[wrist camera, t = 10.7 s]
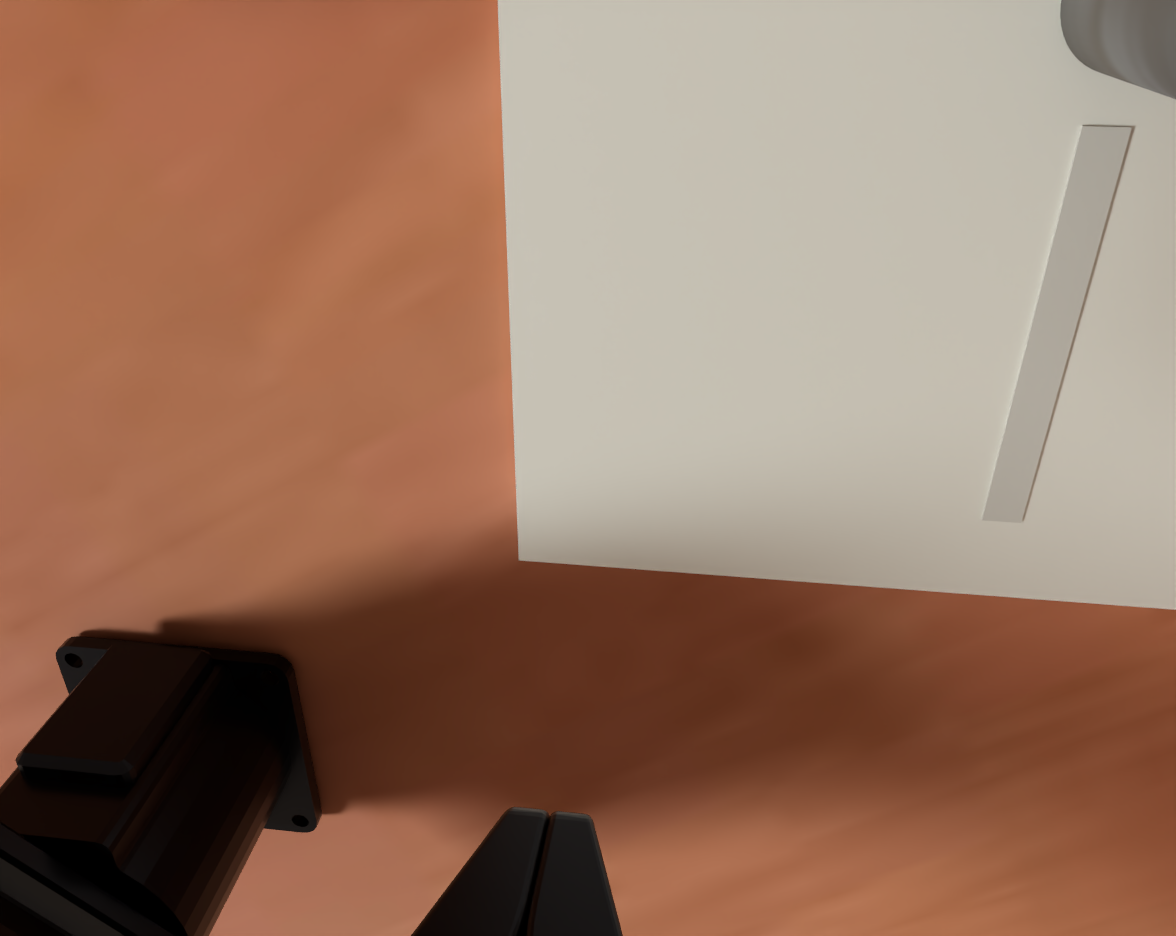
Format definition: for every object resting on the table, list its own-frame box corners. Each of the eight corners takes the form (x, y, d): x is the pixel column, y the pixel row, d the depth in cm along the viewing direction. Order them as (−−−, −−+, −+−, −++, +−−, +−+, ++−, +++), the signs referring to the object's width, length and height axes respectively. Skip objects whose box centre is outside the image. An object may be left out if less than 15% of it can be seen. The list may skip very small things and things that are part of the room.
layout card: (1378, 613, 20) (1392, 628, 20) (521, 550, 22) (518, 562, 22) (2321, -1145, 9) (2393, -1194, 9) (468, -971, 11) (459, -1005, 11)
